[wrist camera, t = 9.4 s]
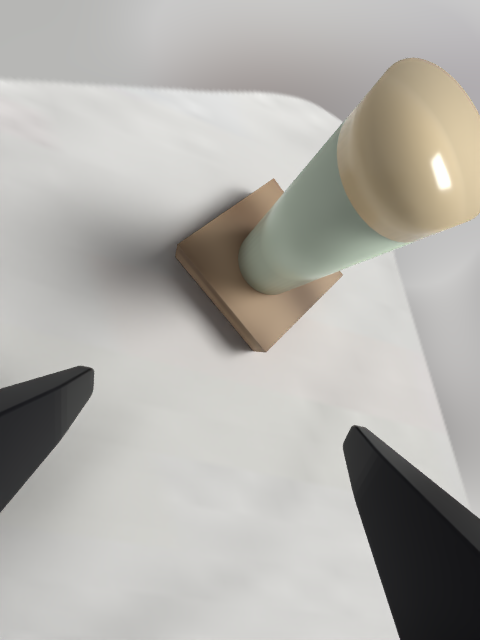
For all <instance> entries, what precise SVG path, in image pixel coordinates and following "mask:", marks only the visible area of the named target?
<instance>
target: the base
mask: <svg viewBox="0 0 480 640" xmlns="http://www.w3.org/2000/svg"><path fill="white" fill-rule="evenodd" d="M283 193H284V192H283V190H282V189H281V188H280V186H279V185H278V183H277V182H276V181H275V179H272V180H271V181H269V182H268V183H266V184H265V185H263V186H262V187H260V188H259V189H258V190H256V191H255V192H253V193H252V194H250V195H249V196H247V197H246V198H244V199H243V200H241V201H240V202H239V203H237V204H236V205H234V206H233V207H231V208H230V209H228V210H227V211H225V212H224V213H222V214H221V215H220V216H218V217H217V218H215V219H214V220H212V221H211V222H209V223H208V224H206V225H205V226H203V227H202V228H200V229H199V230H198V231H196V232H195V233H193V234H192V235H190V236H189V237H187V238H186V239H184V240H183V241H181V242H180V243H179V244H177V249H176V255H175V257H176V258H177V259H178V261H179V262H180V263H181V264H182V266H183V267H184V268H185V269H186V270H187V272H188V273H189V274H190V275H191V276H192V278H193V279H194V280H195V281H196V282H197V284H198V285H199V286H200V287H201V288H202V290H203V291H204V292H205V293H206V295H207V296H208V297H209V298H210V299H211V301H212V302H213V303H214V304H215V305H216V307H217V308H218V309H219V310H220V311H221V313H222V314H223V315H224V316H225V317H226V319H227V320H228V321H229V322H230V324H231V325H232V326H233V327H234V328H235V330H236V331H237V332H238V333H239V334H240V336H241V337H242V338H243V339H244V340H245V342H246V343H247V344H248V345H249V346H250V348H251V349H252V350H253V351H256V352H267V351H268V350H269V349H270V348H271V347H272V346H273V345H274V344H275V343H276V342H277V341H278V340H279V339H280V338H281V337H282V336H283V335H284V334H285V333H286V332H287V331H288V330H289V329H290V328H291V327H292V326H293V325H294V324H295V323H296V322H297V321H298V320H299V319H300V318H301V317H302V316H303V315H304V314H305V313H306V312H307V311H308V310H309V309H310V308H311V307H312V306H313V305H314V304H315V303H316V302H317V301H318V300H319V299H320V298H321V297H322V296H323V295H324V294H325V293H326V292H327V291H328V290H329V289H330V288H331V287H332V286H333V285H334V284H335V283H336V282H337V281H338V280H339V279H340V278H341V277H342V276H343V275H342V273H341V272H340V271H338V272H335V273H333V274H330V275H327V276H325V277H322V278H320V279H317V280H314V281H312V282H309V283H307V284H304V285H301V286H299V287H296V288H294V289H291V290H289V291H286V292H283V293H281V294H277V295H267V294H263V293H260V292H258V291H256V290H255V289H253V288H252V287H251V286H250V285H249V284H248V283H247V282H246V281H245V279H244V278H243V276H242V274H241V271H240V268H239V263H238V254H239V249H240V246H241V244H242V242H243V241H244V239H245V238H246V237H247V236H248V235H249V233H250V232H251V231H252V230H253V229H254V228H255V226H256V225H257V224H258V223H259V222H260V220H261V219H262V218H263V217H264V216H265V214H266V213H267V212H268V211H269V210H270V209H271V207H272V206H273V205H274V204H275V203H276V201H277V200H278V199H279V198H280V197H281V195H282V194H283Z"/></svg>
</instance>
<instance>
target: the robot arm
mask: <svg viewBox="0 0 480 640" xmlns="http://www.w3.org/2000/svg"><path fill="white" fill-rule="evenodd" d="M93 386H94V370H93V369H92V368H90V367H85V366H77V367H73V368H70V369H66V370H63V371H60V372H56V373H53V374H49V375H46V376H43V377H39V378H36V379H32V380H29V381H25V382H22V383H19V384H15V385H12V386H8V387H5V388H1V389H0V512H1V511H2V510H3V509H4V507H5V506H6V505H7V504H8V503H9V501H10V500H11V499H12V498H13V497H14V495H15V494H16V493H17V492H18V491H19V489H20V488H21V487H22V486H23V485H24V483H25V482H26V481H27V480H28V479H29V477H30V476H31V475H32V474H33V473H34V471H35V470H36V469H37V468H38V467H39V465H40V464H41V463H42V462H43V461H44V459H45V458H46V457H47V456H48V455H49V453H50V452H51V451H52V450H53V449H54V447H55V446H56V445H57V444H58V443H59V441H60V440H61V439H62V437H63V436H64V435H65V433H66V432H67V430H68V429H69V427H70V426H71V425H72V423H73V422H74V420H75V419H76V417H77V416H78V414H79V413H80V411H81V410H82V408H83V407H84V405H85V404H86V403H87V401H88V400H89V398H90V397H91V395H92V392H93ZM343 451H344V456H345V460H346V464H347V469H348V473H349V478H350V482H351V486H352V491H353V494H354V498H355V501H356V505H357V508H358V511H359V514H360V517H361V520H362V523H363V527H364V530H365V533H366V536H367V539H368V542H369V545H370V548H371V551H372V554H373V557H374V561H375V564H376V567H377V570H378V573H379V576H380V579H381V582H382V585H383V588H384V591H385V595H386V598H387V601H388V604H389V607H390V610H391V613H392V616H393V619H394V622H395V625H396V629H397V632H398V635H399V638H400V640H480V519H479V518H478V517H477V516H475V515H474V514H473V513H472V512H470V511H469V510H468V509H467V508H465V507H464V506H463V505H462V504H460V503H459V502H458V501H457V500H455V499H454V498H453V497H452V496H450V495H449V494H448V493H447V492H445V491H444V490H443V489H442V488H440V487H439V486H438V485H437V484H435V483H434V482H433V481H432V480H430V479H429V478H428V477H427V476H425V475H424V474H423V473H422V472H420V471H419V470H418V469H417V468H415V467H414V466H413V465H412V464H411V463H409V462H408V461H407V460H406V459H404V458H403V457H402V456H401V455H399V454H398V453H397V452H396V451H394V450H393V449H392V448H391V447H389V446H388V445H387V444H386V443H384V442H383V441H382V440H381V439H379V438H378V437H377V436H376V435H374V434H373V433H372V432H371V431H369V430H368V429H367V428H365V427H361V426H357V425H354V426H352V427H351V429H350V431H349V433H348V435H347V437H346V439H345V441H344V443H343Z"/></svg>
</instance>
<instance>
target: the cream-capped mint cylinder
mask: <svg viewBox="0 0 480 640" xmlns="http://www.w3.org/2000/svg"><path fill="white" fill-rule="evenodd" d="M479 213H480V115H479V114H478V111H477V110H476V108H475V106H474V104H473V103H472V101H471V99H470V98H469V96H468V95H467V93H466V92H465V91H464V89H463V88H462V87H461V86H460V85H459V84H458V83H457V81H456V80H455V79H454V78H453V77H452V76H450V75H449V74H448V73H447V72H446V71H445V70H443V69H442V68H440V67H439V66H437V65H436V64H433V63H431V62H429V61H426V60H423V59H419V58H406V59H403V60H400V61H398V62H396V63H394V64H393V65H392V66H391V67H390V68H389V69H388V70H387V71H386V72H385V73H384V74H383V76H382V77H381V78H380V79H379V80H378V82H377V83H376V84H375V85H374V86H373V88H372V89H371V90H370V91H369V92H368V93H367V95H366V96H365V97H364V98H363V99H362V101H361V102H360V103H359V104H358V105H357V106H356V108H355V109H354V110H353V111H352V113H351V114H350V115H349V116H348V117H347V118H346V120H345V121H344V122H343V123H342V124H341V125H340V127H339V128H338V129H337V130H336V131H335V133H334V134H333V135H332V136H331V137H330V139H329V140H328V141H327V142H326V143H325V144H324V146H323V147H322V148H321V149H320V150H319V152H318V153H317V154H316V155H315V156H314V158H313V159H312V160H311V161H310V162H309V163H308V165H307V166H306V167H305V168H304V169H303V171H302V172H301V173H300V174H299V175H298V176H297V178H296V179H295V180H294V181H293V182H292V184H291V185H290V186H289V187H288V188H287V190H286V191H285V192H284V193H283V194H282V195H281V197H280V198H279V199H278V200H277V201H276V203H275V204H274V205H273V206H272V207H271V209H270V210H269V211H268V212H267V213H266V214H265V216H264V217H263V218H262V219H261V220H260V222H259V223H258V224H257V225H256V226H255V228H254V229H253V230H252V231H251V232H250V233H249V235H248V236H247V237H246V238H245V239H244V241H243V242H242V244H241V246H240V249H239V254H238V263H239V268H240V271H241V274H242V276H243V278H244V279H245V281H246V282H247V283H248V284H249V285H250V286H251V287H252V288H253V289H255V290H256V291H258V292H260V293H263V294H267V295H277V294H281V293H283V292H286V291H289V290H291V289H294V288H296V287H299V286H301V285H304V284H307V283H309V282H312V281H314V280H317V279H320V278H322V277H325V276H327V275H330V274H333V273H335V272H338V271H340V270H343V269H346V268H348V267H351V266H353V265H356V264H359V263H361V262H364V261H366V260H369V259H372V258H374V257H377V256H379V255H382V254H385V253H387V252H390V251H392V250H395V249H397V248H400V247H402V246H405V245H408V244H410V243H413V242H415V241H418V240H421V239H423V238H426V237H429V236H431V235H434V234H436V233H439V232H441V231H444V230H447V229H449V228H452V227H454V226H457V225H460V224H462V223H465V222H468V221H470V220H472V219H473V218H475V217H476V216H477V215H478V214H479Z"/></svg>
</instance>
